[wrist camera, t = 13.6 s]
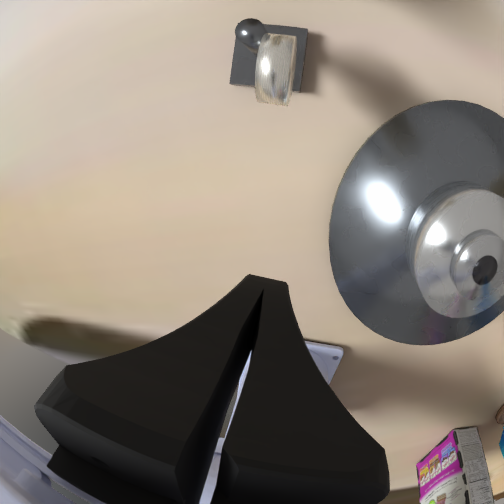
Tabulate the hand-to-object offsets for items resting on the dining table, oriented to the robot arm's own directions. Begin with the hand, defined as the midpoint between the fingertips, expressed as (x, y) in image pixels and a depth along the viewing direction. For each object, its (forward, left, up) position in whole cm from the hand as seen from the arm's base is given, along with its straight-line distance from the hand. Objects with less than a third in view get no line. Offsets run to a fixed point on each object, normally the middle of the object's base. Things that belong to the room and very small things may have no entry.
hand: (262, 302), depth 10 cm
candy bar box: (-28, -30, -10) cm, 42 cm away
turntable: (+2, -13, -9) cm, 16 cm away
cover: (+1, -12, -9) cm, 15 cm away
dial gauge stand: (+9, +2, -10) cm, 14 cm away
